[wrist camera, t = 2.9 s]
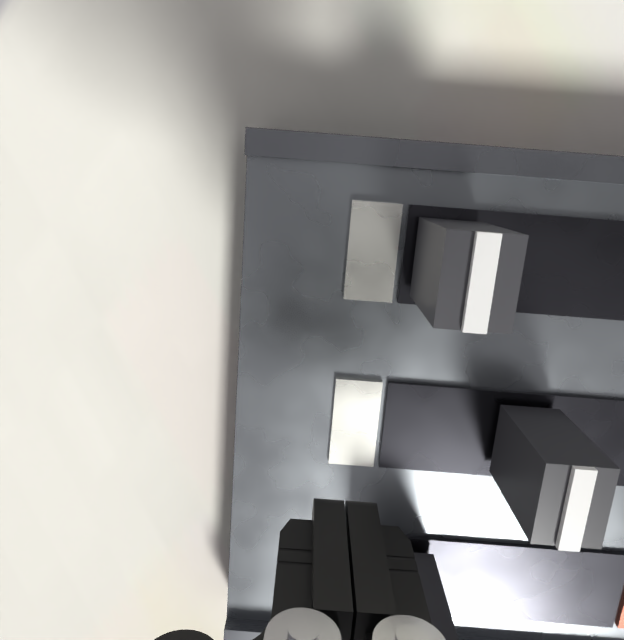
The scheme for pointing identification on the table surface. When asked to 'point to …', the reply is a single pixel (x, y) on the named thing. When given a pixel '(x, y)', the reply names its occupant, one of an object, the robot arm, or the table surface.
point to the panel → (424, 368)
